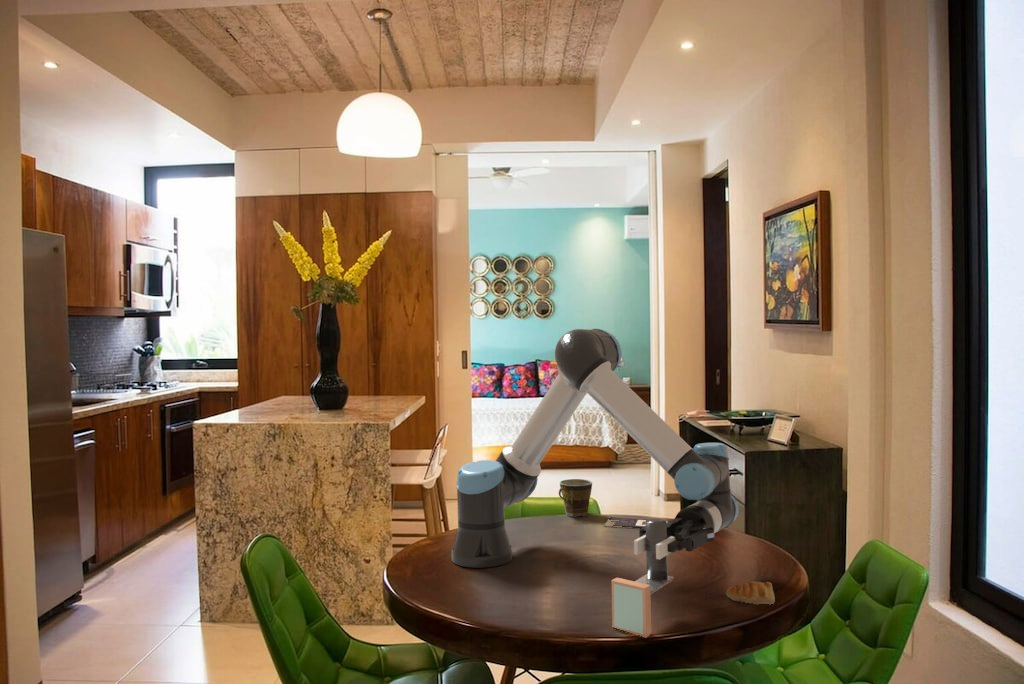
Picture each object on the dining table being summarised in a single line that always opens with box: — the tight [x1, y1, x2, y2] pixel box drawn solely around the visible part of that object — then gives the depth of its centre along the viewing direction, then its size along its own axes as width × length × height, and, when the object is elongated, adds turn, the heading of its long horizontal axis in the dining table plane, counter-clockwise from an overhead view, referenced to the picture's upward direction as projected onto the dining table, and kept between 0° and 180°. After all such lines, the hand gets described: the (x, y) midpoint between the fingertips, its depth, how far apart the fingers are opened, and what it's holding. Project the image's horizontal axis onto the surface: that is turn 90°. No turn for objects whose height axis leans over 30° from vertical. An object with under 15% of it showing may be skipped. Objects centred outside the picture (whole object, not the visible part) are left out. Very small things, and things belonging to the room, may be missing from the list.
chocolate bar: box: [607, 516, 671, 529], centre depth 203 cm, size 9×1×18 cm
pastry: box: [725, 580, 776, 606], centre depth 144 cm, size 9×7×4 cm
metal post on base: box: [634, 518, 674, 596], centre depth 134 cm, size 5×10×12 cm, turn 141°
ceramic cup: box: [558, 478, 593, 518], centre depth 214 cm, size 13×10×10 cm
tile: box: [611, 577, 652, 639], centre depth 129 cm, size 7×2×9 cm, turn 51°
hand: (646, 549), depth 134 cm, fingers closed on metal post on base, 4 cm apart
